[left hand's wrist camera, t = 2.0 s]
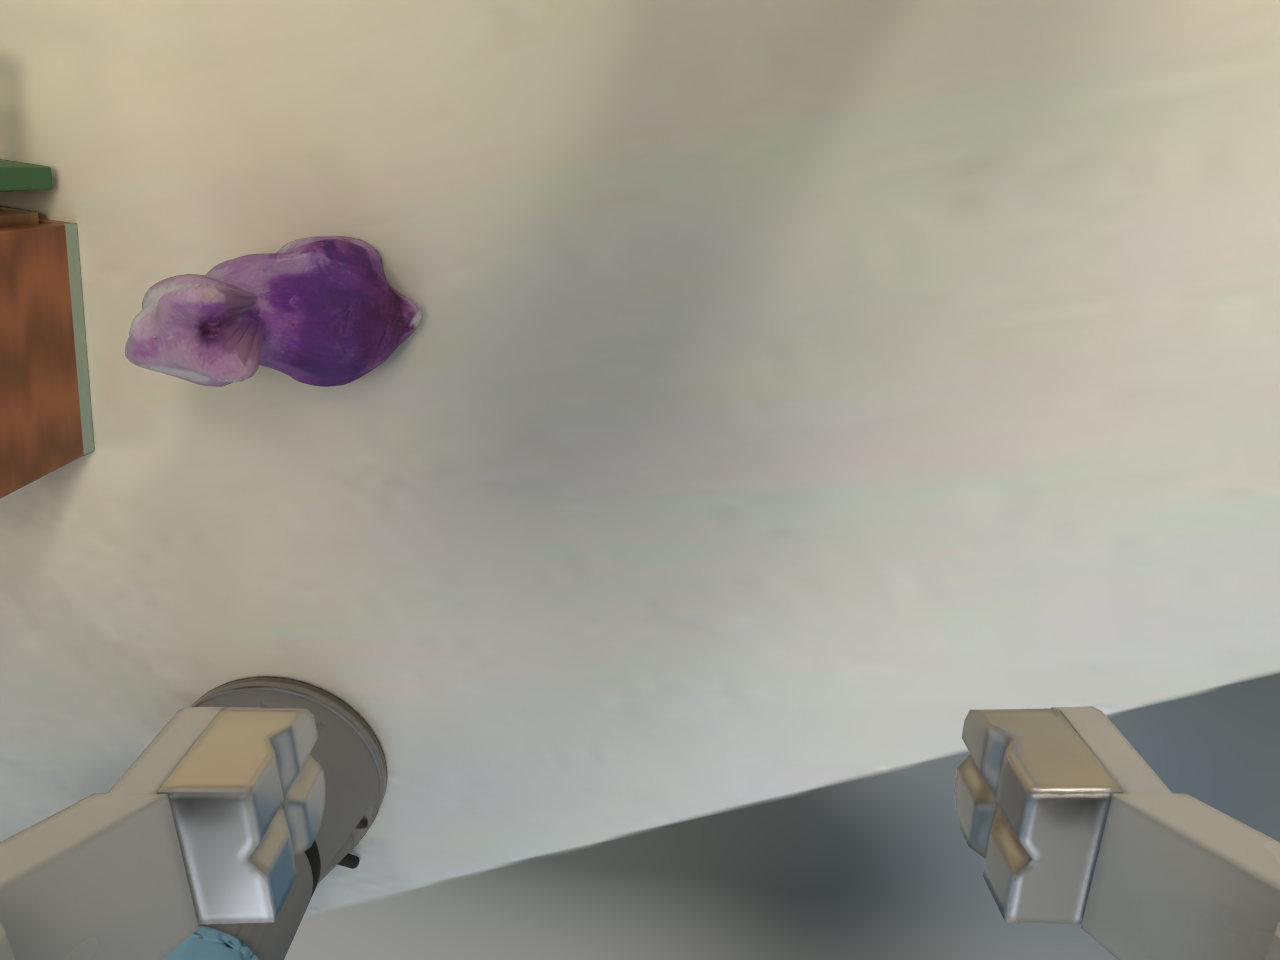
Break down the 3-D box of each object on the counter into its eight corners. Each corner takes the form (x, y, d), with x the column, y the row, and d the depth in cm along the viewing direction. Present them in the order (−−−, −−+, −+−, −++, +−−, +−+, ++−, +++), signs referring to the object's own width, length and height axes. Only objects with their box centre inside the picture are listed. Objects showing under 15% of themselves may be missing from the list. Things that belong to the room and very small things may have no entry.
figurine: (202, 303, 50) (32, 356, 36) (320, 184, 48) (187, 191, 34) (322, 420, 53) (206, 513, 39) (439, 312, 50) (361, 369, 36)
